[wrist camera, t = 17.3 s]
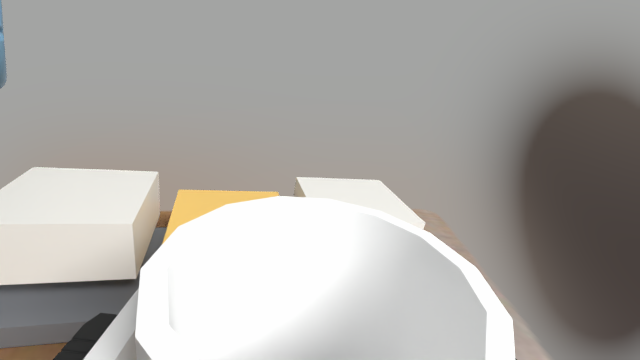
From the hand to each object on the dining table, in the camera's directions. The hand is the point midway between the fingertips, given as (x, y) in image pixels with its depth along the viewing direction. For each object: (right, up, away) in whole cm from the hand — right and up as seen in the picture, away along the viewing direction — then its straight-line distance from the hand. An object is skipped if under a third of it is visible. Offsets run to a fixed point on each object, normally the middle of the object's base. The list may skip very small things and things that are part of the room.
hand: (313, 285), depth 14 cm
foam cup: (-1, -10, -1) cm, 10 cm away
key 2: (-17, 0, +9) cm, 19 cm away
